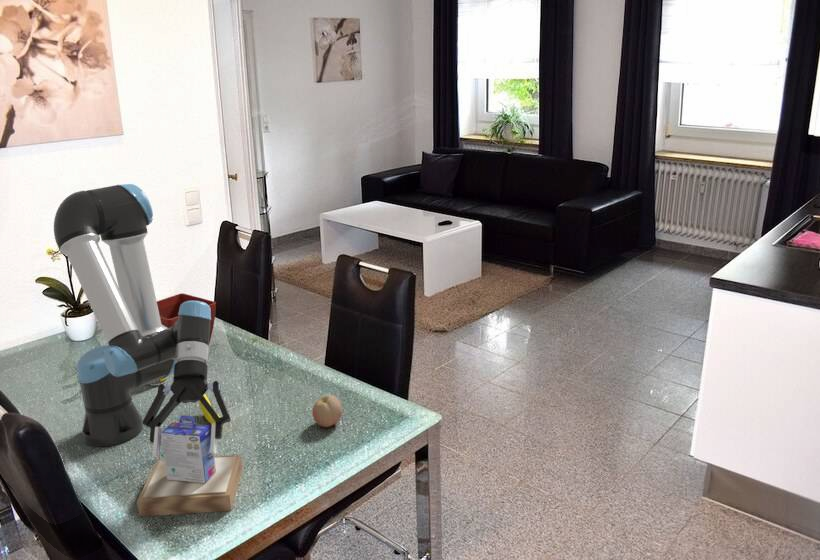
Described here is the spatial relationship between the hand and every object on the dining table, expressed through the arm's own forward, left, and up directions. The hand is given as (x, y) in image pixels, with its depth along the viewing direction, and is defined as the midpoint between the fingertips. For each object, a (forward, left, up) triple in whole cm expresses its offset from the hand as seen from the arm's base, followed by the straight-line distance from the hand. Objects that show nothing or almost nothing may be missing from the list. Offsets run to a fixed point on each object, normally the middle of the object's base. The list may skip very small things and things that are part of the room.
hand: (184, 455), depth 155 cm
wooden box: (0, +3, -11) cm, 12 cm away
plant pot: (-22, +85, -12) cm, 88 cm away
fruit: (+30, +30, -12) cm, 44 cm away
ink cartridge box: (0, +3, -7) cm, 8 cm away
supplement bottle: (-24, +62, -12) cm, 67 cm away
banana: (-2, +35, -12) cm, 37 cm away
